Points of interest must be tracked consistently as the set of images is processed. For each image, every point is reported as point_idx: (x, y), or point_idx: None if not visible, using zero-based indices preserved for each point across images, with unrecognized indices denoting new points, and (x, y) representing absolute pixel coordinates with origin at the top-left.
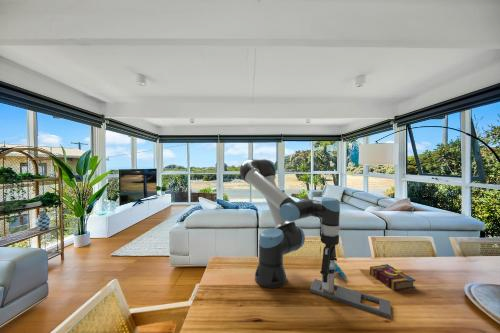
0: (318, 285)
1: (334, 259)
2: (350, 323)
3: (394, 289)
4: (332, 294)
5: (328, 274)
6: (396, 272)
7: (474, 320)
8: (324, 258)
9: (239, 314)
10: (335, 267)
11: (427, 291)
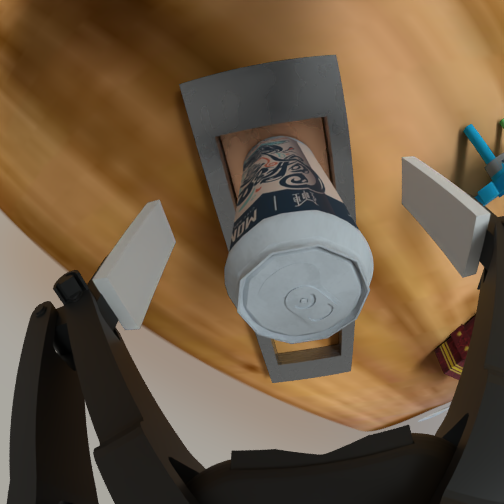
0: (263, 109)
1: (481, 282)
2: None
3: (437, 351)
4: (231, 221)
5: (126, 326)
6: None
7: (374, 423)
8: (29, 448)
9: None
10: (485, 194)
11: (453, 378)
